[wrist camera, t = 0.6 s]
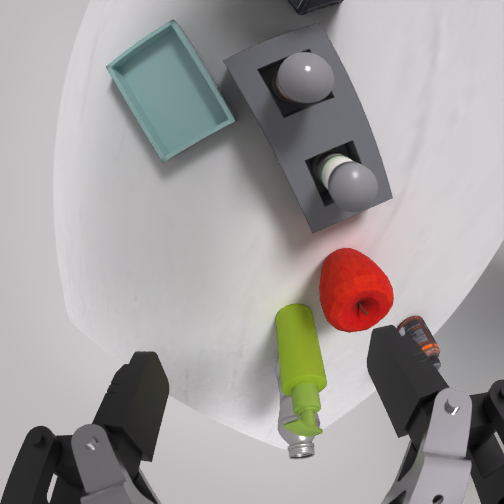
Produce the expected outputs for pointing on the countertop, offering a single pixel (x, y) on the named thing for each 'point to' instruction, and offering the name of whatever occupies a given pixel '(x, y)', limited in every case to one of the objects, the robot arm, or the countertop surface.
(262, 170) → the countertop surface
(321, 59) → the fuse
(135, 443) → the robot arm
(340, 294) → the apple
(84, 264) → the countertop surface
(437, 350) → the supplement bottle
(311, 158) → the block
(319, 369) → the soap dispenser
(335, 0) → the small box
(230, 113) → the tray
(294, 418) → the plastic bottle
